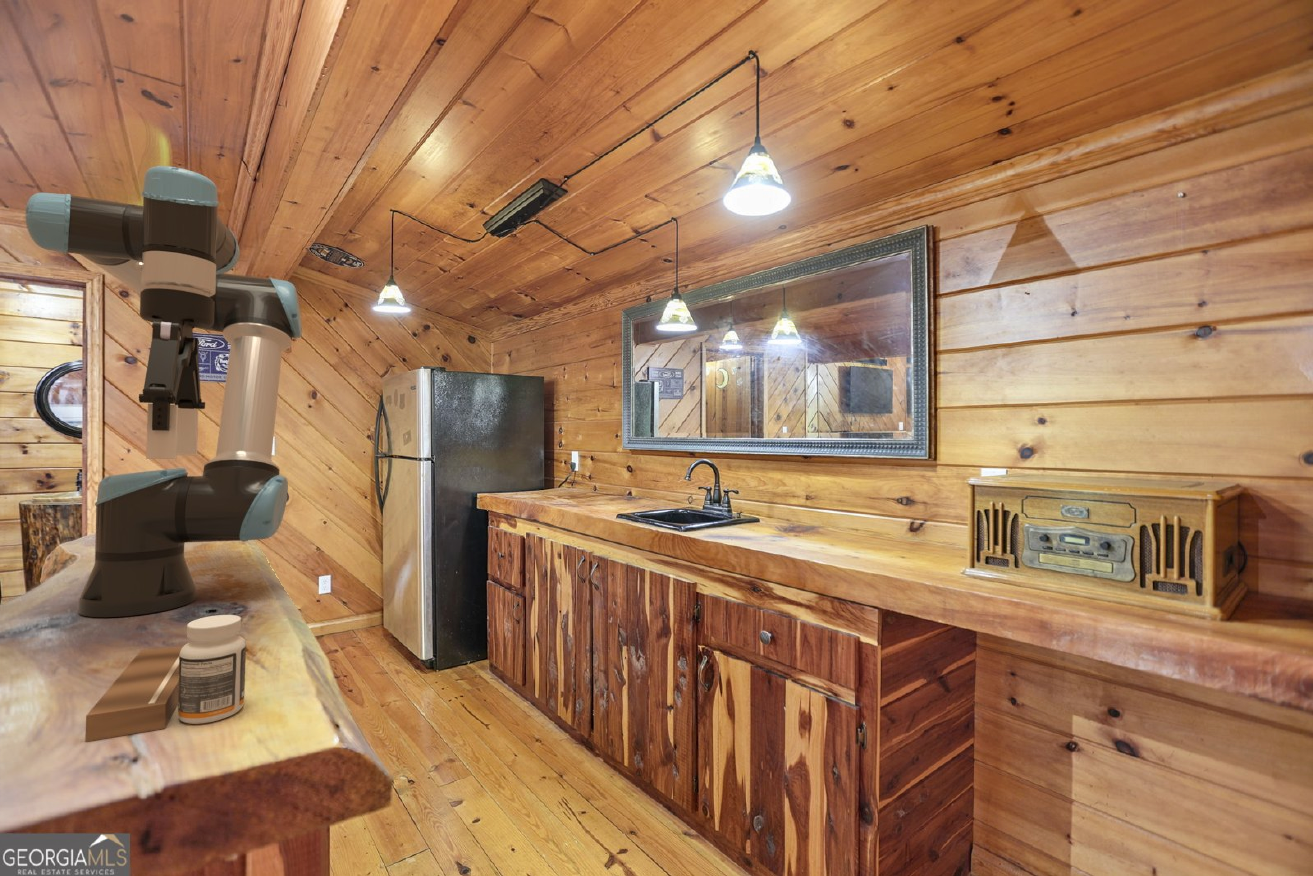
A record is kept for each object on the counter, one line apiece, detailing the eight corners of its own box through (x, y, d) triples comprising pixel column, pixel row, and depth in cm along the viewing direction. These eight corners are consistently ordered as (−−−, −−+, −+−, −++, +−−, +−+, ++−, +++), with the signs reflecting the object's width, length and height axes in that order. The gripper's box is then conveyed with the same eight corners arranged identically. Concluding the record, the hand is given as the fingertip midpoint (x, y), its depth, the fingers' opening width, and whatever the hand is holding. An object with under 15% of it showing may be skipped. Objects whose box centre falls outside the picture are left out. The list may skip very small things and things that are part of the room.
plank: (140, 670, 75) (141, 649, 75) (199, 662, 78) (200, 642, 78) (85, 741, 58) (86, 714, 58) (164, 728, 61) (165, 702, 61)
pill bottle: (201, 702, 67) (203, 613, 67) (255, 701, 67) (258, 613, 67) (163, 726, 61) (166, 629, 61) (223, 725, 62) (226, 628, 62)
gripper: (164, 307, 87) (159, 453, 87) (110, 264, 65) (104, 460, 65) (227, 313, 90) (223, 454, 90) (197, 275, 69) (191, 460, 68)
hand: (173, 457), depth 77 cm, fingers open, 13 cm apart
